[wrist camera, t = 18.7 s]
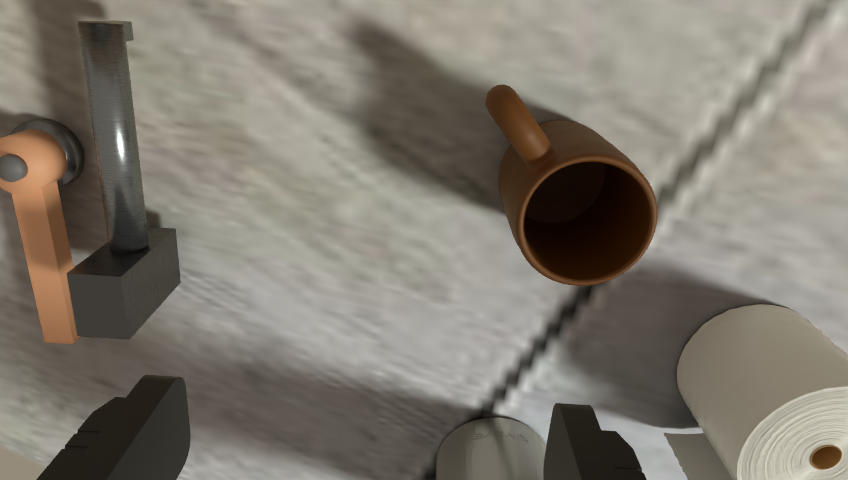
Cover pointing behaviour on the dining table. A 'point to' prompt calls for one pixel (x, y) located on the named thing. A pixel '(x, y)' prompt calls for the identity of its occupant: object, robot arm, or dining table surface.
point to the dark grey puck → (66, 141)
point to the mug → (570, 196)
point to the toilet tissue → (763, 399)
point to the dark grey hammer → (119, 202)
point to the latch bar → (41, 225)
